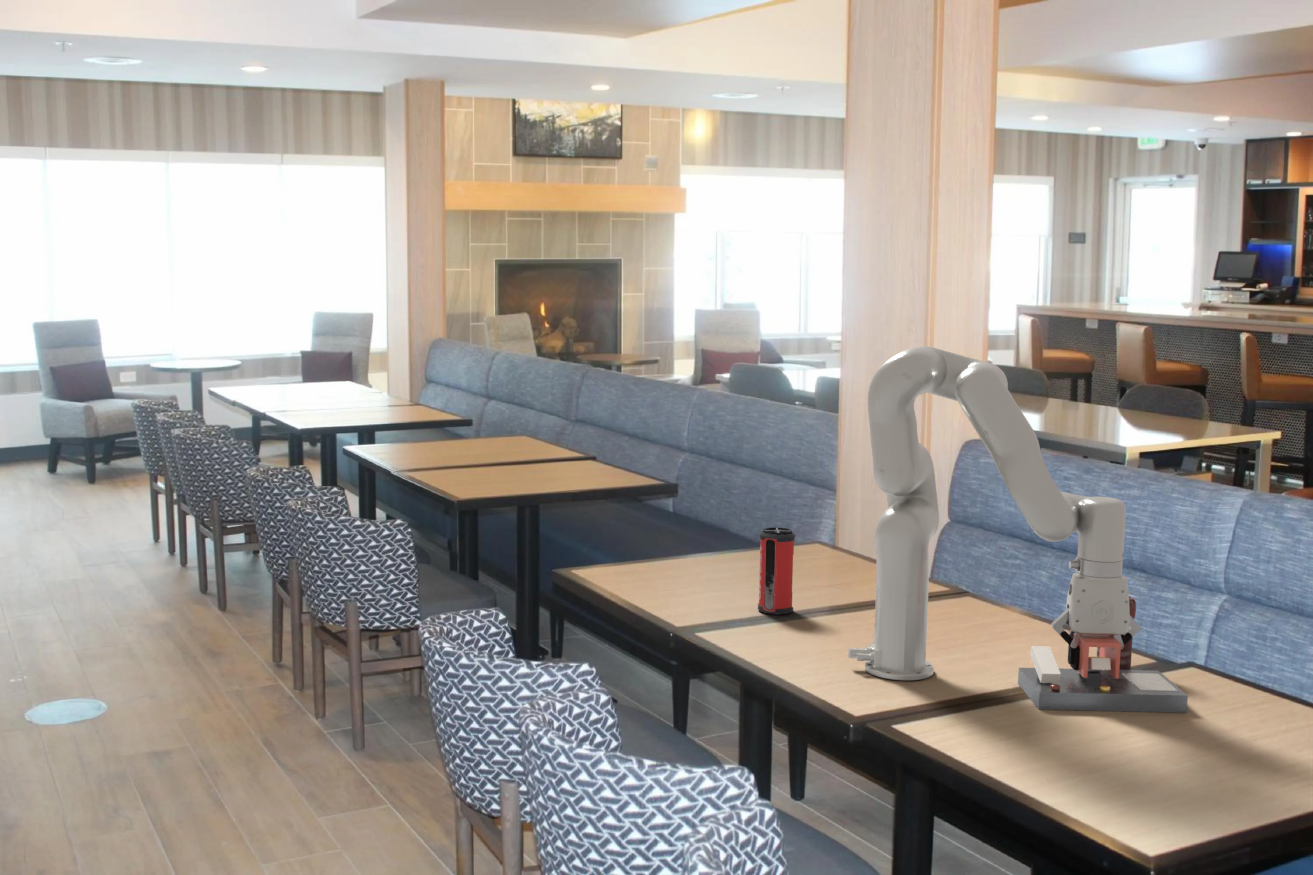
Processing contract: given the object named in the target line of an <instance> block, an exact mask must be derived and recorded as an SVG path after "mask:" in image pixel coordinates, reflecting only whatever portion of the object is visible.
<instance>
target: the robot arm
mask: <svg viewBox="0 0 1313 875" xmlns="http://www.w3.org/2000/svg"><path fill="white" fill-rule="evenodd" d="M1008 385H1009V384H1008V378H1007V376H1006V374H1005V373H1004V371H1003V370H1002V369H1001V368H1000V367H999V366H997V365H996V364H994V363H991V362H987V361H984V360H979V359H975V358H972V357H969V356H964V355H960V354H958V353H955V352H950V351H947V350H943V349H940V348H936V347H933V346H928V345H927V346H925V345H924V346H923V345H922V346H917V347H912V348H908V349H905V350H902V351H900V352H899V353H897V354H895V355H893V356H892V357H890V358H889V359H888V360H886V361H885V362H884V363H883V364H882V365H881V366H879V368H878V369H877V370H876V372H875V373H874V375H873V376H872V379H871V381H870V384H869V387H868V392H867V411H868V412H867V413H868V424H869V433H870V434H869V436H870V446H871V453H872V454H871V455H872V466H873V470H872V471H873V476H874V480H875V483H876V485H877V486H878V488H879V489H880V490H881V491H882V492H883V493H884V494H886V501H887V508H886V509H885V510H884V511H883V512H882V514H881V516H880V517H879V519H878V521H877V524H876V529H875V532H874V533H875V534H874V538H875V540H874V541H875V556H876V560H875V561H876V564H875V565H876V575H875V576H876V577H875V578H876V579H875V580H876V581H875V607H874V608H875V611H874V613H875V614H874V634H873V635H874V638H873V642H872V641H871V642H870V646H865V647H864V648H859V647H848V651H847V653H848V655H847V656H848V659H856V662H857V661H858V662H864V670H865V671H866V672H867V673H869V674H870V675H872V676H875V677H878V678H882V679H887V680H894V681H920V680H924V679H927V678H928V679H929V678H930V677H932V676H933V675H934V670H935V668H934V666H933V664H932V663H930V661H927V660H926V658H927V657H926V656H927V639H928V637H927V636H928V634H927V633H928V613H929V610H928V609H929V607H928V606H929V580H930V577H929V576H930V564H929V563H930V562H929V561H930V560H929V550H930V549H929V546H930V542H931V541H932V539H933V538H934V537H935V535H936V534H937V532H938V529H939V524H940V511H939V504H938V501H939V500H938V493H937V485H936V475H935V467H934V466H935V465H934V462H933V459H932V455H931V454H930V452H929V450H928V449H927V448H926V447H925V446H924V445H923V444H922V443H921V442H919V435H918V422H917V417H916V416H917V415H916V411H915V401H916V399H917V397H919V396H920V395H923V394H926V393H927V394H931V395H935V396H938V397H942V398H944V399H949V400H951V401H952V400H953V401H956V402H958V404H959V406H960V407H961V410H962V411H963V412H964V414H965V416H966V417H967V419H968V421H969V422H970V423H971V425H972V427H973V429H974V430H975V431H976V433H977V436H979V438H980V440H981V442H982V444H983V445H984V447H985V448H986V449H987V451H988V453H989V455H990V456H991V458H992V460H993V462H994V464H995V467H996V470H997V471H998V473H999V474H1000V476H1001V478H1002V480H1003V481H1004V484H1005V486H1006V488H1007V490H1008V492H1009V494H1010V495H1011V498H1012V499H1013V501H1014V503H1015V504H1016V506H1017V508H1018V510H1019V511H1020V512H1021V514H1022V515H1023V517H1024V519H1025V521H1026V522H1027V523H1028V526H1030V528H1031V530H1032V531H1033V532H1034V534H1036V535H1037V536H1038V537H1039V538H1041V539H1042V540H1044V541H1046V542H1053V543H1054V542H1055V543H1057V542H1061V541H1064V540H1066V539H1068V538H1069V537H1070V536H1071V535H1072V534H1073V533H1077V535H1078V542H1077V554H1076V555H1077V556H1075V557H1076V558H1075V560H1069V561H1068V568H1069V569H1070V570H1075V572H1074V573H1072V575H1071V579H1070V583H1069V586H1068V587H1069V588H1068V591H1067V597H1066V604H1065V610H1064V611H1063V612H1062V613H1060V615H1059V616H1057V617H1056V619H1054V620H1053V621H1052V622H1051V623H1050V626H1051V628H1052V629H1053V630H1054V631H1055V633H1057V634H1058V635H1059V636H1060V637H1061V638H1062V640H1064V641H1065V642H1066V643H1067V644H1068V649H1067V651H1068V652H1067V663H1068V664H1069V665H1070V667H1071V669H1074V670H1079V656H1080V649H1079V648H1078V644H1079V641H1080V637H1082V635H1083V634H1090V635H1112V636H1113V637H1114V638H1116V639H1117V640H1118V641H1119V642H1120V643H1121V649H1123V647H1124V645H1125V644H1126V643H1127V642H1128V641H1130V640H1131V639H1132V637H1133V638H1134V636H1136V635H1137V634H1138V633H1139V632H1140V631H1141V630H1142V627H1141V626H1140V624H1139V623H1138V622H1137V621H1136V620H1135V618H1134V619H1133V618H1132V617H1131V616H1130V609H1129V597H1130V594H1129V593H1130V592H1129V583H1128V578H1127V577H1126V576H1124V575H1123V565H1124V564H1123V563H1124V550H1125V547H1124V546H1125V536H1126V535H1125V533H1126V517H1127V516H1126V515H1127V507H1126V506H1127V505H1126V504H1125V502H1124V501H1123V500H1121V499H1119V498H1115V497H1111V496H1086V495H1080V494H1076V493H1071V492H1066V491H1060V489H1059V488H1058V486H1057V484H1056V483H1055V481H1054V479H1053V477H1052V476H1051V474H1050V471H1049V470H1048V468H1047V466H1046V464H1045V461H1044V458H1043V455H1042V452H1041V451H1042V450H1041V447H1040V442H1039V439H1038V436H1037V433H1035V431H1034V429H1033V427H1032V426H1031V424H1030V422H1029V421H1028V419H1027V417H1026V416H1025V415H1024V413H1023V412H1022V409H1021V408H1020V407H1019V405H1018V404H1017V402H1016V400H1015V399H1014V396H1013V395H1012V394H1011V392H1010V390H1009V389H1008V388H1009V386H1008ZM1064 625H1066V626H1067V627H1069V629H1070V630H1071V631H1070V632H1069V633H1068V632H1067V631H1066V630H1065V629H1064V628H1063V627H1064ZM1120 655H1121V653H1120Z"/></svg>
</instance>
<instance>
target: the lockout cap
mask: <svg viewBox="0 0 1313 875" xmlns="http://www.w3.org/2000/svg"><path fill="white" fill-rule="evenodd" d="M1070 631H1071V629H1070ZM1097 647H1100V654H1099V657H1109V658H1110V665H1111V670H1108V672H1109V673H1110V674H1111V675H1112V676H1113V677H1114V678H1115V679H1119V668H1120V653H1121V643H1120V642H1119V641H1118V640H1117V639H1116V638H1114V637H1113V636H1112V635H1090V634H1083V635H1082V637H1080V641H1079V644H1078V648H1079V649H1080V656H1079V670H1077V671H1078V672H1079V673H1080V674H1081V675H1082V676H1083V678H1087V675H1088V658H1089V657H1090V656H1089V655H1090V648H1097Z"/></svg>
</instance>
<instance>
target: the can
mask: <svg viewBox="0 0 1313 875" xmlns="http://www.w3.org/2000/svg"><path fill="white" fill-rule="evenodd" d="M1129 609H1130V616H1131V617H1132V618H1133V619H1134V620H1135V618H1136V611H1137V601H1136V599H1134V598H1133V597H1131V596H1129ZM1133 638H1134V636H1133V637H1132V639H1131V640H1130V641H1128V642H1127V643H1126V644H1125V645H1124V647H1123V649H1121V655H1120V668H1119V670H1132V669H1131V668H1132V654H1133ZM1099 654H1100V647H1096V657H1099Z"/></svg>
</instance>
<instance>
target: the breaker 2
mask: <svg viewBox="0 0 1313 875" xmlns="http://www.w3.org/2000/svg"><path fill="white" fill-rule="evenodd" d="M1108 670H1111V665H1110V658H1109V657H1097V656H1089V658H1088V672H1103V671H1108ZM1078 673H1079V672H1078Z"/></svg>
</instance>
